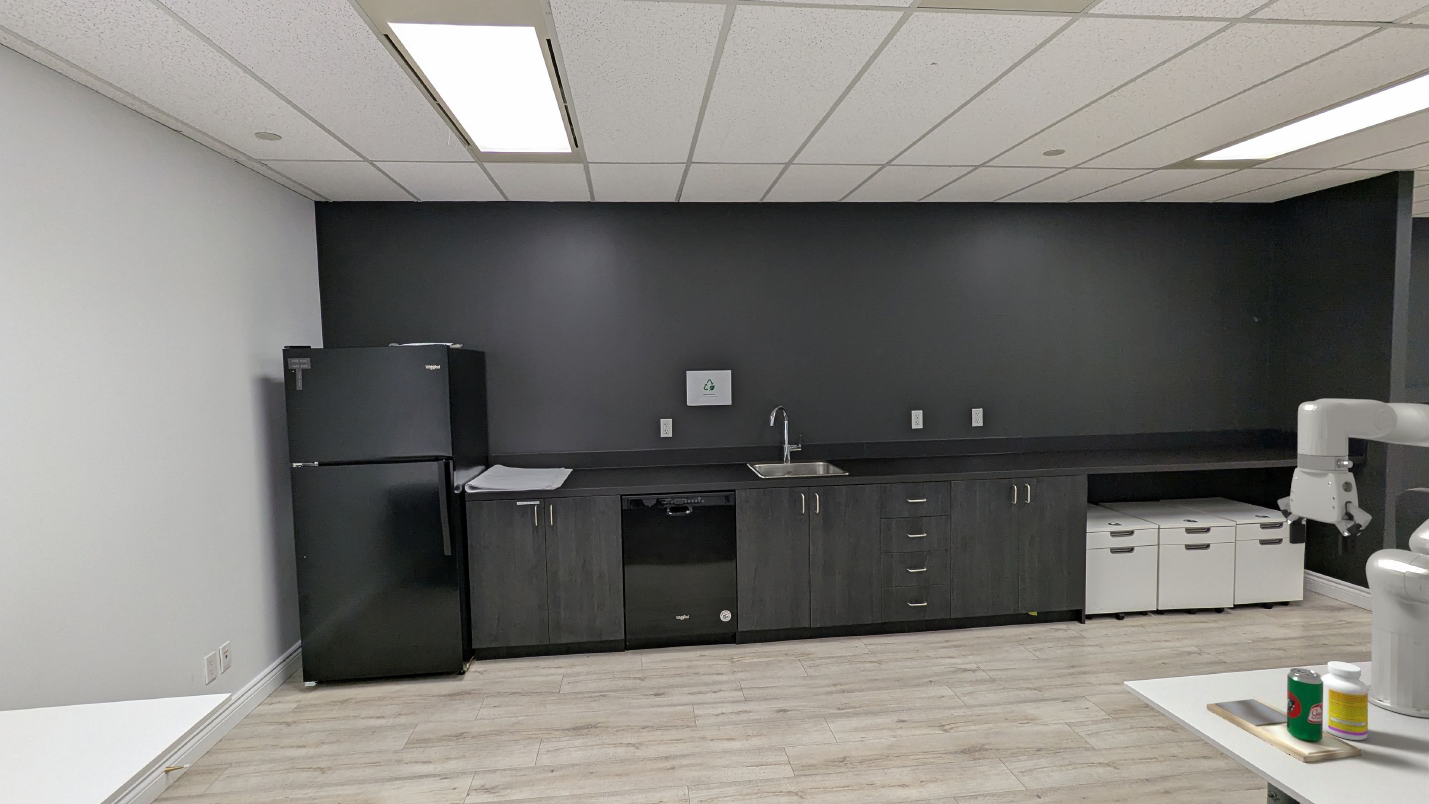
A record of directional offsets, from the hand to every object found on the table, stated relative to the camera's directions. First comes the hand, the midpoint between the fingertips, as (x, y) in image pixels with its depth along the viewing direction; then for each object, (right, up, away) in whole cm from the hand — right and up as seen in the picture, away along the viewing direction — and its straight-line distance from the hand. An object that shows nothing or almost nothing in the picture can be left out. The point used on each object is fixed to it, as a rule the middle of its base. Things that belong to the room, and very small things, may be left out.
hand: (1321, 549), depth 138 cm
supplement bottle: (-1, -34, -6) cm, 34 cm away
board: (-12, -34, -5) cm, 36 cm away
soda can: (-12, -33, -10) cm, 36 cm away
